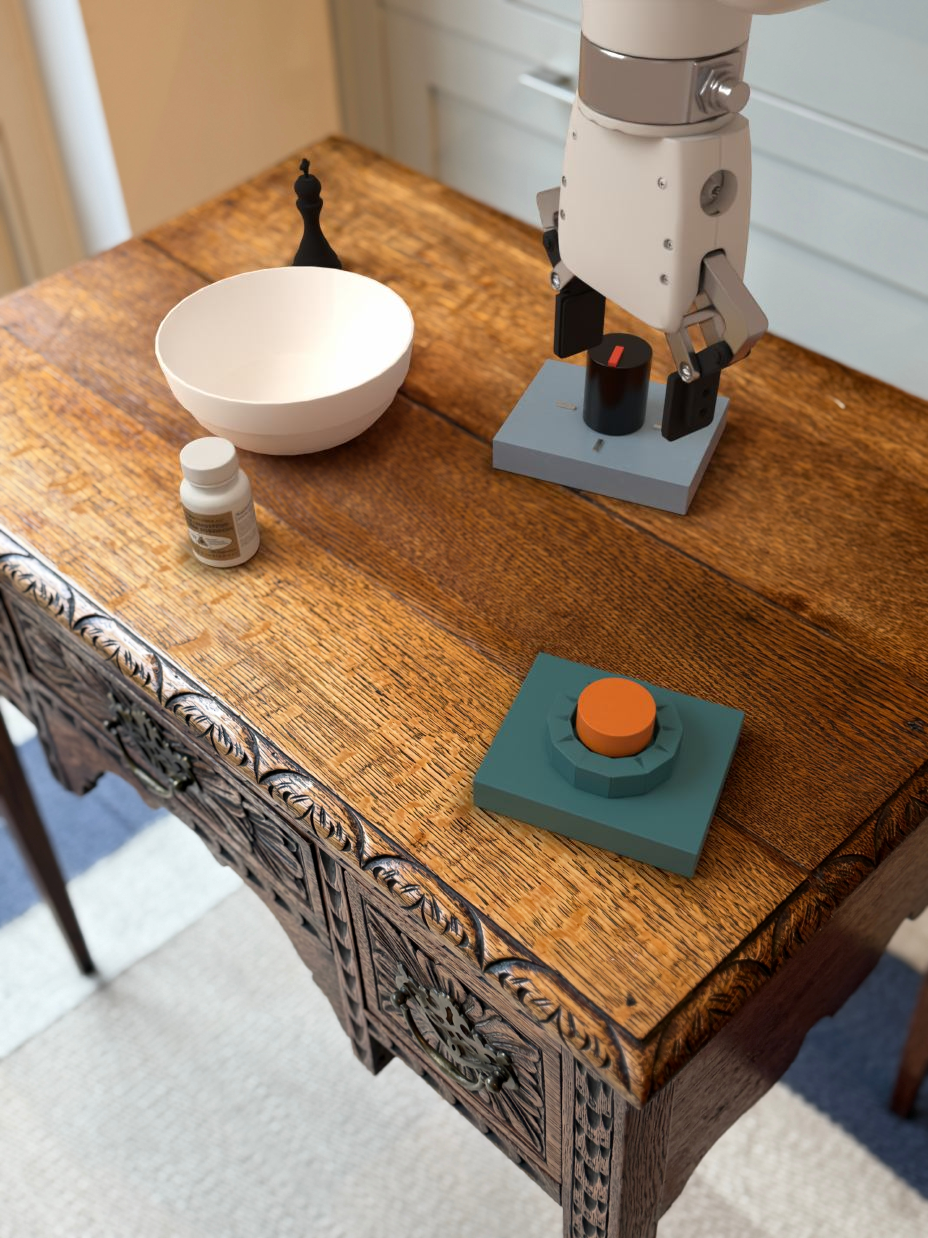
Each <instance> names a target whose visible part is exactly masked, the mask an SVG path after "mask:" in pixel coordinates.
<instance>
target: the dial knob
mask: <svg viewBox="0 0 928 1238" xmlns="http://www.w3.org/2000/svg"><path fill="white" fill-rule="evenodd" d="M653 354H654V351H653V348H652V345H651V344H650V343H649V342H648V341H647V340H645V339H644V338H642V337H640V336H638V335H635V334H631V333H625V332H611V333H610V332H609V333H603V341H602V343H601V344H600V345H599V346H597V347H594V348H591V349H589V350H586V361H585V367H586V373H585V388H584V402H583V420H584V422H585V424H586V425H587V426H588V427H589V428H591V429H592V430H594V431H596V432H598V433H601V434H605V435H613V436H620V435H627V434H630V433H633V432H635V431H637V430H639V429H640V428H641V427H642V426H643V424H644V422H645V417H646V408H647V399H648V391H649V382H650V381H651V372H652V363H653V356H654V355H653Z"/></svg>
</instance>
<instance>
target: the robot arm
mask: <svg viewBox="0 0 928 1238" xmlns="http://www.w3.org/2000/svg"><path fill="white" fill-rule="evenodd" d="M828 1H830V0H582V3H581V19H580V20H581V21H580V41H579V42H580V43H579V61H578V63H579V64H578V79H577V80H578V83H577V87H576V91H575V95H574V98H573V104H572V107H571V112H570V117H569V123H568V128H567V134H566V141H565V147H564V153H563V154H564V155H563V162H562V168H561V169H562V170H561V179H560V185H558V186H554V187H551V188H548V189H544V190H542V191H539V192H537V194H536V197H535V201H536V205H537V210H538V214H539V219H540V222H541V226H542V229H543V230H544V232H543V234H542V245H543V247H544V250H545V252H546V254H547V257H548V260H549V262H550V265H551V266H552V269H551V270H550V272H549V276H548V280H549V283H550V286H551V287H552V289H553V290H554V291H555V292H559V293H557V294H555V302H554V303H555V304H554V322H553V323H554V324H553V346H552V347H553V349H552V350H553V354H554V355H555V356H556V357H558V358H559V359H561V360H563V359H567V358H570V357H573V356H575V355H578V354H580V353H583V352H587V350H589V349H591V348H594V347H597V346H599V345H600V344H601V343H602V341H603V335H604V331H605V315H606V303H607V299H608V300H610V301H611V302H612V303H613V304H615V305H616V306H618V307H620V308H621V309H623V310H624V311H625V312H627V313H629V314H630V315H631V316H633V317H635V318H636V319H638V320H639V321H641V322H642V323H644V324H645V325H647V326H648V327H651V328H653V329H655V330H656V331H659V332H661V333H663V334H664V336H665V339H666V342H667V345H668V348H669V351H670V354H671V356H672V359H673V362H674V365H675V368H676V371H673V372H671V373H670V374H668V376H667V378H666V393H665V401H664V410H663V418H662V426H661V432H662V437H664V438H665V439H666V440H668V441H669V442H672V441H675V440H677V439H679V438H682V437H684V436H686V435H689V434H691V433H693V432H696V431H698V430H700V429H703V428H705V427H707V426H709V425H710V424H711V423H712V421H713V419H714V413H715V407H716V401H717V396H718V394H719V389H720V388H719V387H720V382H721V381H720V380H721V375H722V370H724V369H726V368H729V367H731V366H732V365H734V364H736V363H738V362H740V361H742V360H744V359H746V358H748V357H749V356H751V355H750V354H751V352H752V349H753V348H754V347H755V346H756V345H757V344H758V342H759V341H760V339H761V338H762V337H763V336H764V335H765V333H766V332H767V331H768V330H769V319H768V317H767V315H766V313H765V312H764V311H763V309H762V308H761V306H760V304H759V303H758V302H757V300H756V299H755V298H754V296H753V295H752V293H751V291H750V290H749V289H748V287H747V286H746V285H745V283H744V278H745V271H746V264H747V254H748V243H749V235H750V234H749V233H750V225H751V224H750V223H751V222H750V221H751V210H752V209H751V208H752V181H753V180H752V179H753V162H752V161H753V160H752V141H751V140H752V139H751V130H750V129H751V128H750V120H749V119H748V118H747V117H746V116H744V115H742V114H741V113H740V112H742V111H743V109H745V107H746V106H747V104H748V102H749V100H750V96H751V87H750V85H749V83H747V82H745V81H744V76H745V70H746V69H745V68H746V64H747V63H746V62H747V56H748V55H747V54H748V49H749V41H750V34H751V29H752V21H753V16H773V15H781V14H787V13H791V12H796V11H798V10H801V9H805V8H809V7H813V6H815V5H818V4H819V5H820V4H822V3H825V2H828ZM693 304H694V306H695V309H696V310H694V311H692V312H690V310H691V308H692V306H693ZM695 325H699V328H700V332H701V334H702V336H703V340H704V342H705V345H706V347H705V348H703V349H702V350H699V351H697V352H696V350H695V347H694V343H693V342H692V338H691V336H690V333H689V330H688V328H690V327H693V326H695Z"/></svg>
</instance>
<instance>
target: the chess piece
mask: <svg viewBox="0 0 928 1238" xmlns="http://www.w3.org/2000/svg"><path fill="white" fill-rule="evenodd" d="M310 165H311V161H310V160H309V159H307V158H306V157H303V158H302V159H301V163H300V165H299V167H298V169H299V171H301V172H303V174H300V175H298V177H297V179H296V180H295V182H294V184H293V191H294V193H295V194H296V196H297V199H295V206H296V209H297V210H298V212H299V214H300V215H301V217H302V220H303V233H302V237H301V240H300V242H299V246H298V249H297V251H296V253H295V255H294V257H293V262H292V264H291V267H321V268H331V269H338V270H343V269H342V268H343V264H342V261H341V260H340V259H339V257H338V254H337V253H336V251H335V250H334V249H333V247H332V246H331V244H330V242H329V241H328V239H327V237H326V236H325V235H324V232H323V230H322V228H321V223H320V218H321V217H320V216H321V212H322V210H323V207H324V199H323V198H322V197H321V192H322V183H321V181H320V180H319V178H318V177H316V176H315V175H314V174H312V173H309V171H310V170H309V169H310Z"/></svg>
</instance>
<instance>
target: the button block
mask: <svg viewBox="0 0 928 1238" xmlns="http://www.w3.org/2000/svg"><path fill="white" fill-rule="evenodd" d="M606 678H622V679H627V680H630V681H633V682H635V683H638V684H639V685H641V686H642V687H644V688H645V689H646V690H647V691H648V692H649V693H650V694H651V696H652V697H653V699H654V702H655V705H656V716H655V722H654V729H653V735H652V738H651V740H650V742H649V743H648V745H647V746H646V747H645V748H644V749H643V750H641V751H640V752H638V753H636V754H634V755H631V756H627V757H608V756H604V755H601V754H598V753H596V752H594V751H592V750H591V749H589V748H588V747H587V746H586V745H585V744H584V743H583V742H582V741H581V739H580V737H579V735H578V733H577V729H576V721H577V709H578V700H579V697H580V695H581V693H582V692H583V691H584V689H585V688H586V687H587V686H589V685H590V684H592V683H594V682H595V681H598V680H601V679H606ZM745 718H746V712H745V711H743V710H739V709H736V708H734V707H729V706H727V705H726V706H725V705H723V704H719V703H716V702H711V701H709V700H705V699H702V698H699V697H696V696H693V695H692V696H691V695H688V694H685V693H682V692H678V691H675V690H671V689H669V688H665V687H662V686H658V685H655V684H652V683H650V682H648V681H645V680H643V679H638V678H635V677H632V676H628V675H624V674H622V673H613V672H610V671H607V670H604V669H600V668H597V667H594V666H590V665H586V664H583V663H580V662H577V661H573V660H569V659H566V658H563V657H559V656H555V655H552V654H549V653H545V652H542V651H539V652H538V653H537V656H536V658H535V659H534V661H533V664H532V665H531V667H530V669H529V671H528V673H527V675H526V677H525V679H524V681H523V683H522V684H521V686H520V689H519V690H518V691H517V694H516V695H515V698H514V700H513V701H512V704H511V706H510V708H509V710H508V711H507V714H506V716H505V717H504V719H503V721H502V723H501V725H500V727H499V729H498V731H497V733H496V734H495V736H494V737H493V740H492V742H491V744H490V746H489V748H488V750H487V752H486V754H485V755H484V757H483V759H482V761H481V763H480V765H479V767H478V769H477V771H476V773H475V774H474V777H473V778H472V805H473V806H475V807H478V808H481V809H484V810H487V811H490V812H493V813H496V814H499V815H502V816H505V817H508V818H510V819H513V820H516V821H519V822H523V823H525V824H529V825H531V826H533V827H538V828H540V829H543V830H546V831H548V832H552V833H555V834H558V835H560V836H564V837H567V838H570V839H572V840H576V841H579V842H582V843H585V844H587V845H590V846H594V847H596V848H599V849H602V850H604V851H608V852H610V853H614V854H617V855H619V856H622V857H625V858H628V859H632V860H635V861H637V862H640V863H644V864H647V865H649V866H653V867H655V868H659V869H661V870H664V871H667V872H670V873H673V874H676V875H679V876H681V877H685V878H688V879H692V880H693V878H694V875H695V873H696V870H697V867H698V865H699V861H700V858H701V855H702V851H703V848H704V845H705V844H706V840H707V837H708V834H709V831H710V828H711V825H712V822H713V819H714V816H715V813H716V811H717V807H718V804H719V800H720V798H721V796H722V792H723V789H724V786H725V783H726V780H727V776H728V774H729V771H730V769H731V765H732V762H733V759H734V756H735V753H736V751H737V750H736V749H737V747H738V744H739V741H740V737H741V733H742V729H743V726H744V721H745Z"/></svg>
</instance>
